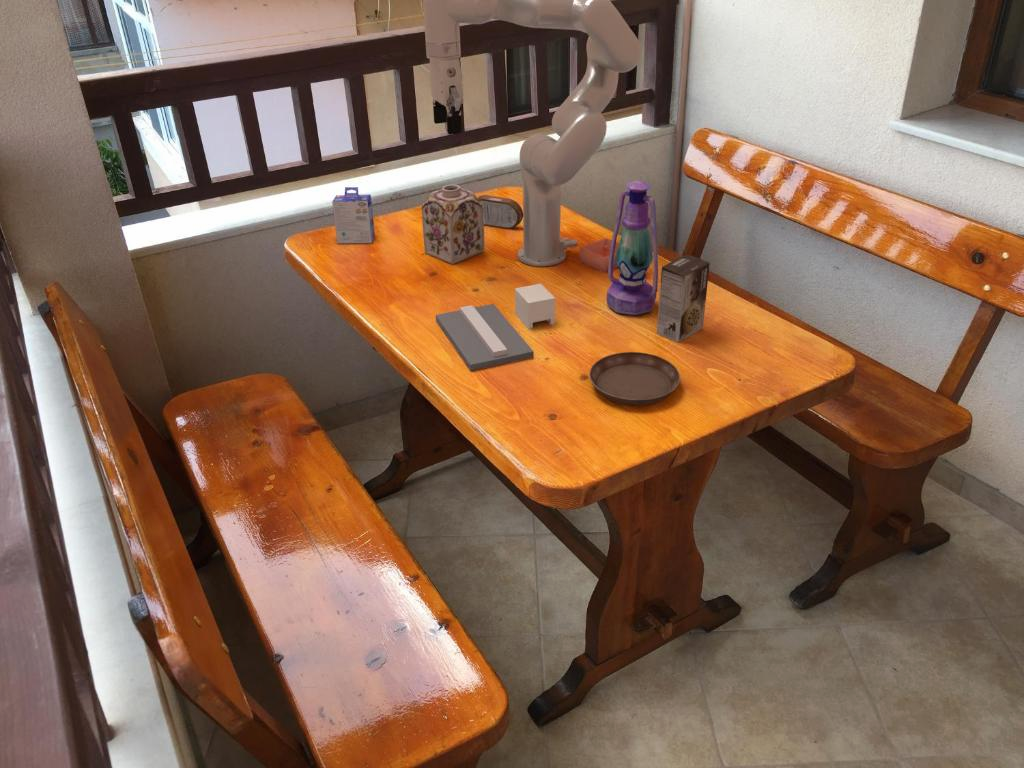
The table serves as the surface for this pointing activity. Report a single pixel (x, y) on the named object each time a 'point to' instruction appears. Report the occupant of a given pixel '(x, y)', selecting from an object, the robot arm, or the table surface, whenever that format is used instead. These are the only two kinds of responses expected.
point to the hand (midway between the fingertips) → (447, 128)
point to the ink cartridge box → (353, 217)
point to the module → (534, 305)
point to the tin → (501, 212)
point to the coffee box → (682, 297)
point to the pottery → (598, 255)
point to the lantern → (634, 253)
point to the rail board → (483, 336)
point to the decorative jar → (453, 224)
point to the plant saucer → (634, 378)
